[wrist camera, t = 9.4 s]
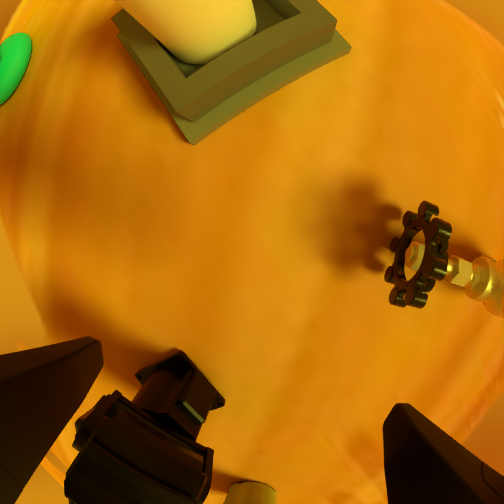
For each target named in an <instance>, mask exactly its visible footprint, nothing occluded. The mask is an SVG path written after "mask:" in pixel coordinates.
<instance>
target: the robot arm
mask: <svg viewBox="0 0 504 504" xmlns="http://www.w3.org/2000/svg"><path fill="white" fill-rule="evenodd" d="M180 357H181V358H183V359H181V358H180ZM102 367H103V354H102V345H101V342H100V341H99V340H97V339H95V338H93V337H90V336H87V337H83V338H79V339H74V340H70V341H66V342H61V343H57V344H52V345H47V346H43V347H38V348H34V349H28V350H23V351H18V352H13V353H8V354H3V355H0V504H15V502H16V500H17V499H18V497H19V496H20V494H21V492H22V491H23V488H24V487H25V485H26V484H27V483H28V481H29V479H30V478H31V476H32V475H33V473H34V472H35V470H36V469H37V467H38V465H39V464H40V463H41V461H42V460H43V458H44V457H45V455H46V454H47V452H48V451H49V449H50V448H51V446H52V445H53V443H54V442H55V440H56V439H57V437H58V436H59V435H60V433H61V432H62V430H63V429H64V427H65V426H66V425H67V423H68V422H69V420H70V419H71V418H72V416H73V415H74V413H75V412H76V411H77V409H78V408H79V407H80V405H81V404H82V402H83V400H84V399H85V397H86V395H87V394H88V392H89V390H90V388H91V386H92V385H93V383H94V381H95V379H96V378H97V376H98V374H99V373H100V371H101V369H102ZM135 376H136V378H137V379H138V380H139V382H140V383H141V384H142V385H143V386H142V387H141V389H140V390H139V391H138V393H137V394H136V396H135V397H134V398H133V400H132V401H129V400H128V399H127V398H125V397H124V396H123V395H122V393H120V392H119V391H118V390H115V391H114V392H113V393H112V394H111V395H110V394H108V395H107V396H105V395H103V396H102V398H101V399H100V400H99V401H98V402H97V403H96V405H95V406H94V407H93V408H92V409H90V410H89V411H88V412H86V413H85V414H84V415H82V416H81V417H79V418H78V419H77V421H76V422H75V428H76V435H75V440H74V442H73V444H72V447H73V448H75V449H76V450H77V451H79V453H78V455H77V456H76V458H75V459H74V461H73V463H72V464H71V466H70V467H69V469H68V470H67V472H66V479H65V480H64V494H65V497H67V498H68V500H69V504H203V502H204V501H205V499H206V497H207V495H208V493H209V490H210V487H211V479H212V466H213V454H214V450H213V449H211V448H209V447H205V446H203V445H201V444H199V443H197V442H195V441H196V439H197V436H198V434H199V431H200V429H201V426H202V424H203V423H205V421H206V418H207V416H208V413H209V411H211V410H214V409H217V408H220V407H223V406H224V405H225V399H224V398H223V397H222V396H221V395H220V394H219V393H218V391H217V390H216V389H215V388H214V387H213V386H212V385H211V383H210V382H209V381H208V380H207V379H206V378H205V377H204V375H203V374H202V373H201V372H200V371H199V370H198V369H197V367H196V366H195V365H194V364H193V363H192V361H191V360H190V359H189V358H188V357H187V355H186V354H185V353H183V352H178V353H176V354H174V355H171V356H169V357H167V358H165V359H163V360H161V361H159V362H156V363H154V364H152V365H150V366H148V367H146V368H143V369H141V370H139V371H137V373H136V374H135ZM218 401H219V402H218ZM383 445H384V470H385V479H386V487H387V497H388V504H504V476H503V475H501V474H499V473H498V472H496V471H495V470H494V469H492V468H491V467H490V466H488V465H487V464H485V463H484V462H483V461H481V460H480V459H479V458H478V457H476V456H475V455H474V454H472V453H471V452H470V451H468V450H467V449H466V448H465V447H463V446H462V445H461V444H459V443H458V442H457V441H456V440H454V439H453V438H452V437H450V436H449V435H448V434H447V433H445V432H444V431H443V430H441V429H440V428H439V427H438V426H436V425H435V424H434V423H433V422H431V421H430V420H429V419H428V418H426V417H425V416H424V415H423V414H421V413H420V412H419V411H418V410H416V409H415V408H414V407H413V406H411V405H410V404H408V403H397V404H395V405H394V407H393V408H392V410H391V411H390V413H389V415H388V416H387V418H386V419H385V421H384V424H383Z"/></svg>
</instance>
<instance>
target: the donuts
mask: <svg viewBox="0 0 504 504" xmlns="http://www.w3.org/2000/svg"><path fill="white" fill-rule="evenodd" d="M31 51H32V41H31V38H30V36H29V35H28V34H26V33H16V34H14V35H12V36H10V37H9V38H7V39H6V40H5V41H4V42H3V43H2V44H1V45H0V105H1V104H2V103H4V102H5V101H6V100H7V99H8V98H9V97H10V96H11V95H12V93H13V92H14V91H15V89H16V88H17V86H18V84H19V83H20V81H21V79H22V77H23V75H24V73H25V71H26V68H27V66H28V63H29V60H30V56H31Z"/></svg>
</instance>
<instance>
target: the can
mask: <svg viewBox="0 0 504 504" xmlns="http://www.w3.org/2000/svg"><path fill="white" fill-rule="evenodd" d="M114 1H115V2H117V3H118V4H119V5H120V6H121V7H122V8H123V9H125V10H126V11H127V12H128V13H129V14H130V15H131V16H133V17H134V18H135V19H136V20H137V21H138V22H139V23H140V24H141V25H143V26H144V27H145V28H146V29H147V30H148V31H149V32H150V33H151V34H152V35H153V36H154V37H155V38H157V39H158V40H159V41H160V42H161V43H162V44H163V45H164V46H165V47H166V48H167V49H168V50H169V51H170V52H171V53H172V54H173V55H175V56H176V57H177V58H178V59H180V60H182V61H184V62H187V63H190V64H198V65H205V64H208V63H209V62H211V61H212V60H214V59H215V58H217V57H219V56H220V55H222V54H223V53H225V52H227V51H228V50H230V49H232V48H233V47H235V46H237V45H238V44H240V43H242V42H244V41H245V40H247V39H249V38H251V37H253V36H254V34H255V31H256V17H255V12H254V8H253V4H252V0H114Z"/></svg>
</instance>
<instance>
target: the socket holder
mask: <svg viewBox="0 0 504 504" xmlns="http://www.w3.org/2000/svg"><path fill="white" fill-rule="evenodd" d="M252 4H253V8H254V12H255V17H256V31H255V34H254V36H253V37H251V38H249V39H247V40H245V41H244V42H242V43H240V44H238V45H237V46H235V47H233V48H232V49H230V50H228V51H227V52H225V53H223V54H222V55H220V56H219V57H217V58H215V59H214V60H212V61H211V62H209V63H208V64H205V65H198V64H190V63H187V62H184V61H182V60H180V59H178V58H177V57H176V56H175V55H173V54H172V53H171V52H170V51H169V50H168V49H167V48H166V47H165V46H164V45H163V44H162V43H161V42H160V41H159V40H158V39H157V38H155V37H154V36H153V35H152V34H151V33H150V32H149V31H148V30H147V29H146V28H145V27H144V26H143V25H141V24H140V23H139V22H138V21H137V20H136V19H135V18H134V17H133V16H131V15H130V14H129V13H128V12H127V11H126V10H125V9H122V10H121V11H119V12H118V13H117V14H116V15H114V16H113V17H112V18H111V19H112V21H113V22H114V23H115V25H116V26H117V27H118V29H119V30H120V33H119V34H118V35H117V37H118V38H119V39H120V41H121V42H122V44H123V45H124V47H125V48H126V50H127V51H128V53H129V54H130V56H131V57H132V58H133V60H134V61H135V63H136V64H137V66H138V67H139V69H140V70H141V72H142V73H143V75H144V76H145V77H146V79H147V80H148V82H149V83H150V85H151V86H152V88H153V89H154V91H155V92H156V94H157V95H158V97H159V98H160V100H161V101H162V103H163V104H164V106H165V107H166V108H167V110H168V111H169V113H170V114H171V116H172V117H173V119H174V120H175V122H176V123H177V125H178V126H179V128H180V129H181V131H182V132H183V134H184V135H185V137H186V138H187V140H188V141H189V143H191V144H193V145H195V144H197V143H198V142H199V141H201V140H202V139H203V138H205V137H206V136H208V135H209V134H210V133H212V132H213V131H215V130H216V129H218V128H219V127H220V126H222V125H223V124H225V123H226V122H228V121H229V120H231V119H232V118H234V117H235V116H237V115H238V114H240V113H241V112H243V111H244V110H246V109H247V108H249V107H251V106H252V105H254V104H255V103H257V102H259V101H260V100H262V99H263V98H265V97H267V96H268V95H270V94H272V93H273V92H275V91H277V90H279V89H280V88H282V87H284V86H286V85H287V84H289V83H291V82H293V81H294V80H296V79H298V78H300V77H302V76H304V75H306V74H307V73H309V72H311V71H313V70H315V69H317V68H319V67H321V66H323V65H325V64H327V63H329V62H331V61H333V60H335V59H337V58H340V57H342V56H344V55H346V54H348V53H349V52H350V50H351V48H352V47H351V46H350V45H349V44H348V42H347V41H346V40H345V39H344V38H343V37H342V36H341V35H340V34H339V33H338V32H337V31H336V29H335V27H336V23H337V19H336V18H335V17H334V16H333V15H331V14H330V13H329V12H328V11H327V10H326V9H325V8H324V7H323V6H322V5H321V4H320V3H319V2H318V1H317V0H252Z"/></svg>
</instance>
